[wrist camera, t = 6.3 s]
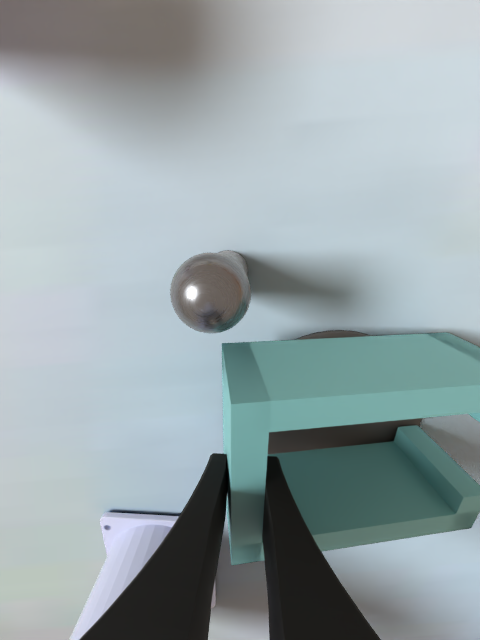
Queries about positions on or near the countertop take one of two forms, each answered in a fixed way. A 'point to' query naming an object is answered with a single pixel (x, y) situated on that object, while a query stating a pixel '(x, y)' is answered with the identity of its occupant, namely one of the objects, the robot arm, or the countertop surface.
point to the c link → (349, 461)
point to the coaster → (335, 434)
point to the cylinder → (211, 291)
